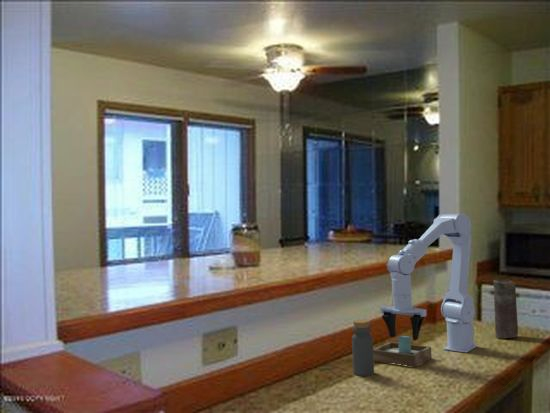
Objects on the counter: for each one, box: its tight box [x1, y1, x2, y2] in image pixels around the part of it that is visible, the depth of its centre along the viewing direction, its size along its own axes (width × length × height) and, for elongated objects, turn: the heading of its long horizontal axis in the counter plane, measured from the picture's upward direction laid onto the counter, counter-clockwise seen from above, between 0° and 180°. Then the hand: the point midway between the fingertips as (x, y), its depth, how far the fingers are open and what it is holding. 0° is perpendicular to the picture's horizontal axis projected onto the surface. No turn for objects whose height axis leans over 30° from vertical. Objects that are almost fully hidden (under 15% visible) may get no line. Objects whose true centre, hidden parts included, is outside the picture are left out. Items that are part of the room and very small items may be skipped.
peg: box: [397, 335, 412, 355], centre depth 174 cm, size 4×4×7 cm
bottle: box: [351, 318, 375, 377], centre depth 163 cm, size 6×6×15 cm
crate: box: [373, 341, 433, 368], centre depth 175 cm, size 12×14×4 cm
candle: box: [492, 278, 519, 339], centre depth 197 cm, size 8×7×20 cm
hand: (404, 338), depth 174 cm, fingers open, 7 cm apart
